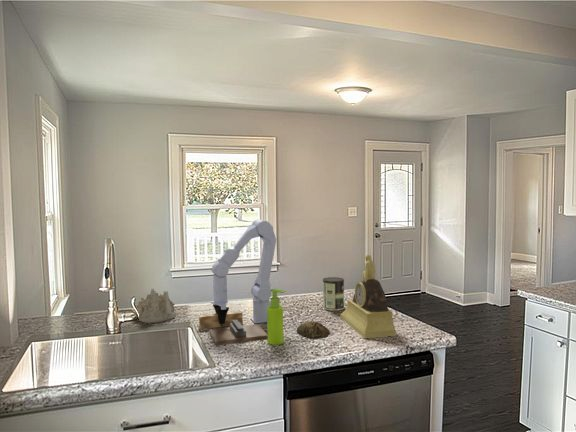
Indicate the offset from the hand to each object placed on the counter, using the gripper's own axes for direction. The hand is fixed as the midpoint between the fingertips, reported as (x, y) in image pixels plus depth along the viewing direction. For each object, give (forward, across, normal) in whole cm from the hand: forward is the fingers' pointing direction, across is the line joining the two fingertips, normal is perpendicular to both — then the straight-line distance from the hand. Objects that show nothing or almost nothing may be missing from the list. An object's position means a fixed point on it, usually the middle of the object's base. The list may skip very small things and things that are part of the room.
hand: (221, 322), depth 183 cm
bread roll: (+2, +23, +33) cm, 40 cm away
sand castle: (+2, -23, -26) cm, 35 cm away
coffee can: (+2, -8, +56) cm, 57 cm away
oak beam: (+1, 0, 0) cm, 1 cm away
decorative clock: (+2, +23, +56) cm, 61 cm away
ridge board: (+1, +15, +4) cm, 16 cm away
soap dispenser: (+2, +28, +16) cm, 32 cm away
